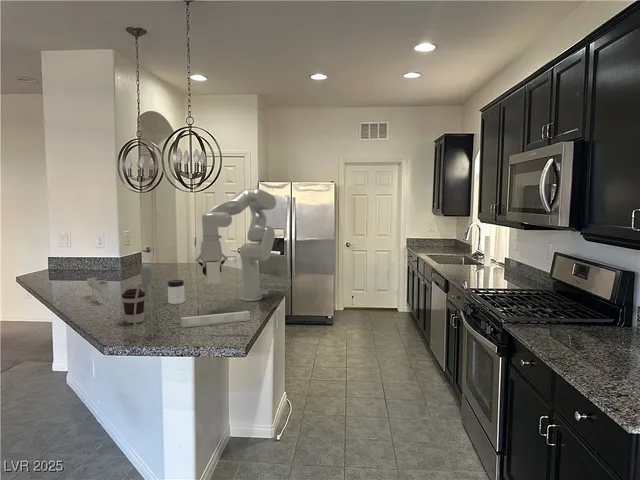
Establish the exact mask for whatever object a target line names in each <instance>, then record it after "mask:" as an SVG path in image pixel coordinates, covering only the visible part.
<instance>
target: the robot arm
mask: <svg viewBox="0 0 640 480" xmlns="http://www.w3.org/2000/svg"><path fill="white" fill-rule="evenodd" d="M276 205H277V200H276V198H275V196H274V195H273V194H272V193H269V192H267V191H265V190H263V189H260V188H246V189H242V190H241V191H240V192H238V193H237V194H236V195H235V196H234V197H233V198H231V199H230V200H227V201H225V202H223V203H220V204H218V205H216V206H214V207H213V208H211V209H210V210H209V211H208V212H207V213H203V214H202V215H201V224H202V225H201V226H202V241H201V243H200V254H199V255H198V257H197V258H195V262H196V263H197V264H198V265H199V266H201V268H202V274H203V275H204V276H205V275H206V267H205V265H206V262H211V261H218V262H220V273H222V266H223V265H224V264H225V262H226V261H227V260H228V257H227V256H226V255H225V254H224V253H223V252H222V251H223V250H222V249H223V248H222V244H221V240H220V239H222V238H223V237H222V235H219V228H228V227H229V226H230V225H232V222H233V217H232V216H235V215H239V214H241V213H242V212H243V211H244V210H245V209H246V208H248V207H249V210H250V212H251V221H250V225H249V228H248V231H247V236H246V237H247V240H248V241H249V242H247V243H243V244H242V245H241V246H240V248H239V256H240V260H241V261H240V262H241V269H242V271H241V272H242V273H241V277H242V295H240V297H239V299H240V301H243V302H244V301H245V302H257V301H260V300H263V297H264V296H267V295H269V291H267V290H261V285H260V265H259V263H258V262H265V261H267V260H269V258H270V257H271V252H272V250H273V246H274V243H275V238H276V234H275V232H276V231H275V230H274V228H273V227H272V226H269V225H267V219H268V218H267V217H266V214H265V212H264V211H267V210H268V211H269V210H273V209H275V207H277V206H276ZM200 260H201V261H202V262H201V261H200ZM257 261H258V262H257ZM263 295H264V296H263Z"/></svg>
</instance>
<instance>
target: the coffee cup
mask: <svg viewBox="0 0 640 480" xmlns="http://www.w3.org/2000/svg"><path fill="white" fill-rule="evenodd" d="M136 291H137V288H129V289H126V290H125V292H124V293H122V294H121V298H122V299H123V302H122V303H123V308H124V309H123V310H124V315H125V320H126V321H125V322H126V323H127V324H130V323H133V324H134V304H135V296H136ZM145 296H146V294H145V291H144V290H142V288H140V290H139V294H138V298H137V305H136V324H139V323H142V322H143V321H144V312H145V299H144V298H145Z"/></svg>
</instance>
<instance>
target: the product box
mask: <svg viewBox="0 0 640 480" xmlns="http://www.w3.org/2000/svg"><path fill="white" fill-rule="evenodd" d="M220 262H221V261H220ZM220 262H218V261H211V262H206V265H205V267H206V275H204V276H205V278H204V279H205V282H206V284H207V285H211V284H221V272H220Z"/></svg>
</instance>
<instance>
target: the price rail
mask: <svg viewBox="0 0 640 480" xmlns="http://www.w3.org/2000/svg"><path fill="white" fill-rule="evenodd" d="M250 315H251V313H250V311H249V310H248V311H247V310H246V311H244V310H243V311H237V312H236V311H235V312H225V313H218V314H217V313H215V314H206V315H197V316H187V317H186V316H185V317H181V328H182V329H183V328H192V327H203V326H210V325H221V324H228V323H231V324H232V323H239V322H246V321H247V322H248V321H250V320H251V319H250V318H251V316H250Z"/></svg>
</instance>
